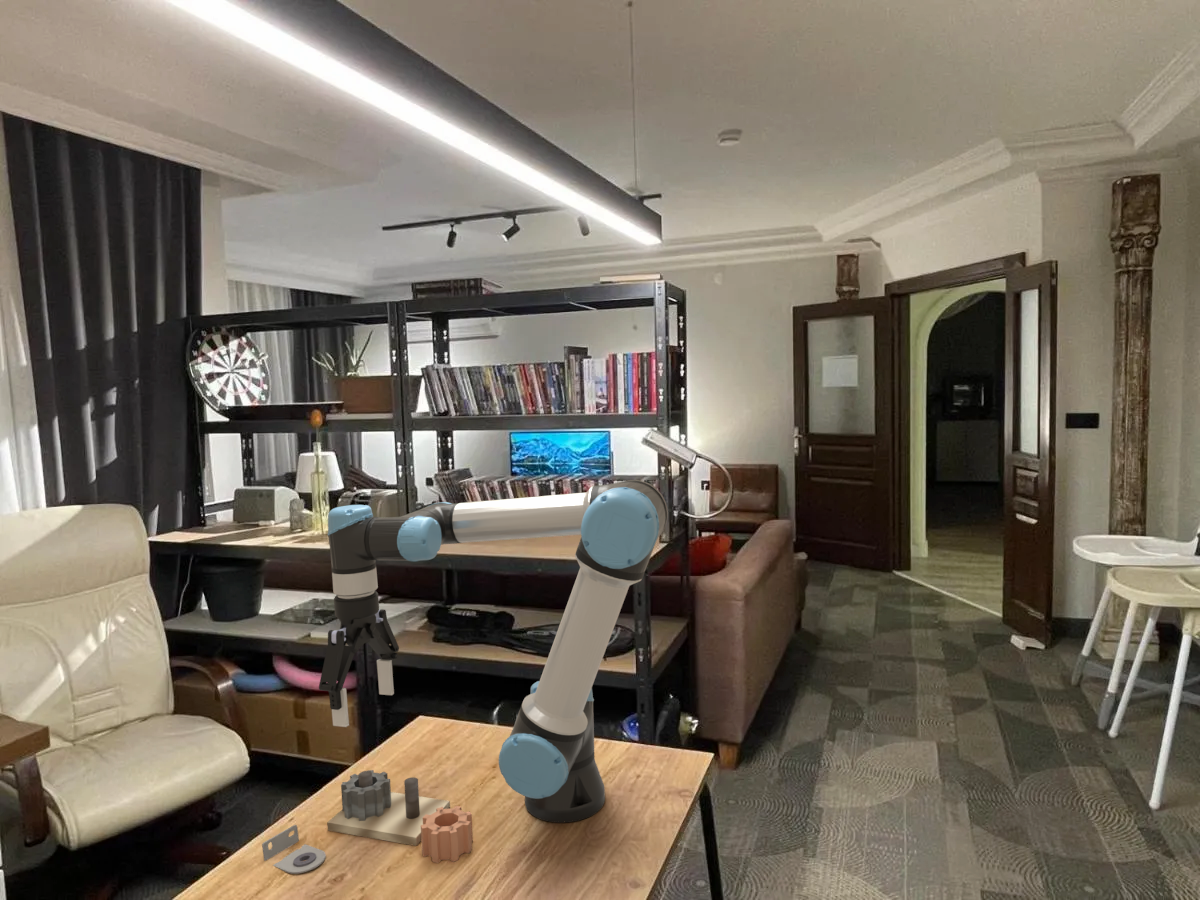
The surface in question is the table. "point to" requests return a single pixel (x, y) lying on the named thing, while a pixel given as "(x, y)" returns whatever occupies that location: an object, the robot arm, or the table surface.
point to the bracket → (293, 853)
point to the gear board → (383, 809)
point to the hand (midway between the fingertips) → (364, 709)
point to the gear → (446, 834)
